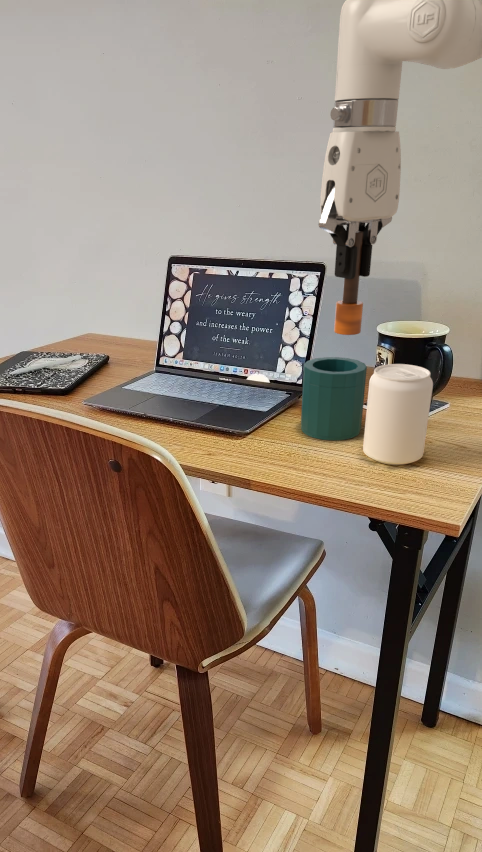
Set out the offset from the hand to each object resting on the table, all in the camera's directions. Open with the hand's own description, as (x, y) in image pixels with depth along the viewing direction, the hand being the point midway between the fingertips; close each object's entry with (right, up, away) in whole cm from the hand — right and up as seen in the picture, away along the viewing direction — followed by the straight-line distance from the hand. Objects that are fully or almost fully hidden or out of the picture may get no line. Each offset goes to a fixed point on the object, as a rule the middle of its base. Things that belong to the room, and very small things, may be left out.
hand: (351, 275), depth 92 cm
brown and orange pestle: (0, -7, +3) cm, 8 cm away
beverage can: (+6, -24, +4) cm, 25 cm away
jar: (0, -19, +13) cm, 23 cm away
